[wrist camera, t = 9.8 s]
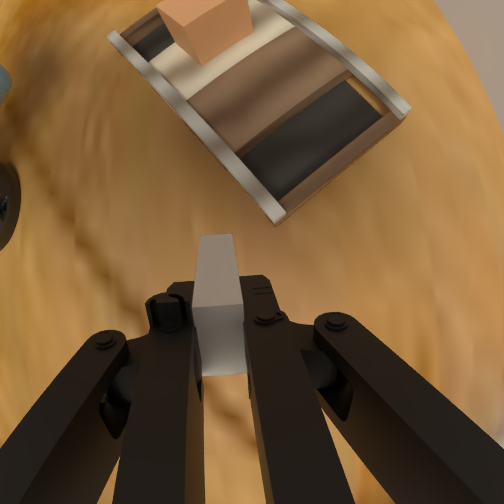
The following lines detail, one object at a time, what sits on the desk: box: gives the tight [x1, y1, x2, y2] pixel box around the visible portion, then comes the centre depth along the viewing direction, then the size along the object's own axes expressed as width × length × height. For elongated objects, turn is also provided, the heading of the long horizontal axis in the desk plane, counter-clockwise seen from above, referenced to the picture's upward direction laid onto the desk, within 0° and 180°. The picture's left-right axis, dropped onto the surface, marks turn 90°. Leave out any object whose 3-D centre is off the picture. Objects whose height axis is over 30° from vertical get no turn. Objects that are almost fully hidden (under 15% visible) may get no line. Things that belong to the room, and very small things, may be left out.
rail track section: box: [106, 0, 412, 227], centre depth 34 cm, size 36×20×4 cm, turn 40°
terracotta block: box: [156, 0, 254, 66], centre depth 30 cm, size 6×8×8 cm
